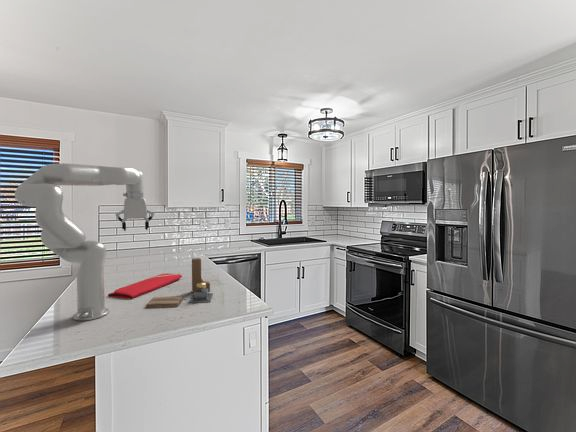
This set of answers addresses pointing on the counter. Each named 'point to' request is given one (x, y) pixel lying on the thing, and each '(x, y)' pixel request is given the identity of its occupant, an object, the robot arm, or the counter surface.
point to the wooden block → (197, 274)
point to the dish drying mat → (144, 286)
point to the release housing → (201, 296)
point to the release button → (201, 285)
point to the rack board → (164, 301)
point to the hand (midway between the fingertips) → (135, 230)
